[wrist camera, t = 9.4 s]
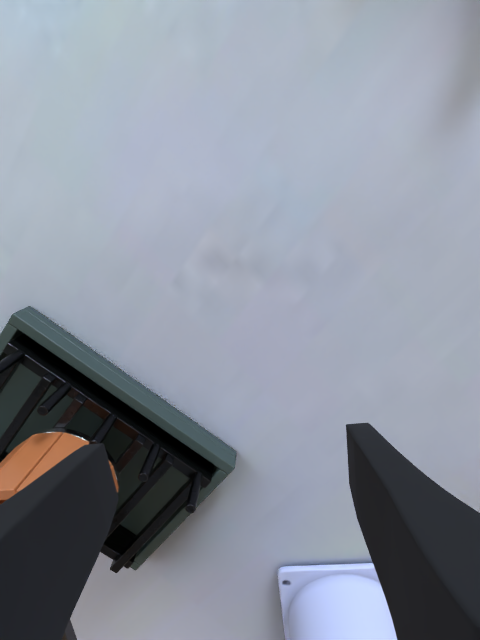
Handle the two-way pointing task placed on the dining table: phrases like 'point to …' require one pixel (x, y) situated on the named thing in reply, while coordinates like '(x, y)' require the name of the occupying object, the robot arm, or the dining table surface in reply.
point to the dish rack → (109, 431)
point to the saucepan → (43, 466)
